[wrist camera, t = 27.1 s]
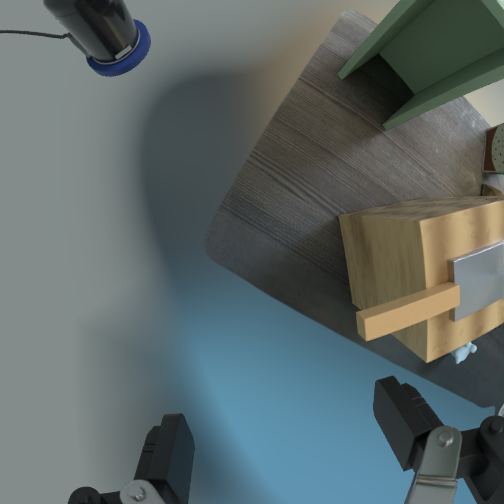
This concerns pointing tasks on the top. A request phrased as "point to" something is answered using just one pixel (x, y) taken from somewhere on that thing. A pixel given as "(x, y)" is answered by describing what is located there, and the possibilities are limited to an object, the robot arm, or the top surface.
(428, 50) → the tall green cabinet
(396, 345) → the top surface
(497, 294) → the knife
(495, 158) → the mint chocolate cake slice
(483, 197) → the block
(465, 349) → the figurine
